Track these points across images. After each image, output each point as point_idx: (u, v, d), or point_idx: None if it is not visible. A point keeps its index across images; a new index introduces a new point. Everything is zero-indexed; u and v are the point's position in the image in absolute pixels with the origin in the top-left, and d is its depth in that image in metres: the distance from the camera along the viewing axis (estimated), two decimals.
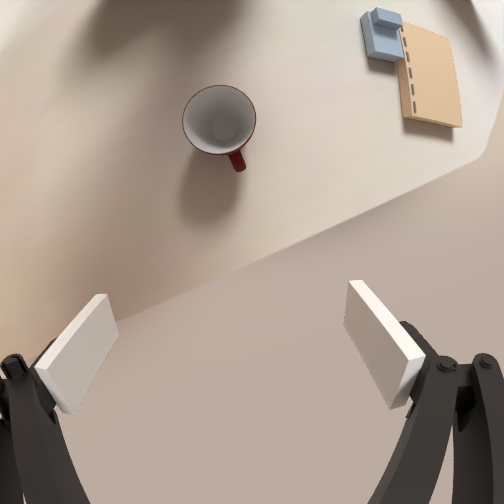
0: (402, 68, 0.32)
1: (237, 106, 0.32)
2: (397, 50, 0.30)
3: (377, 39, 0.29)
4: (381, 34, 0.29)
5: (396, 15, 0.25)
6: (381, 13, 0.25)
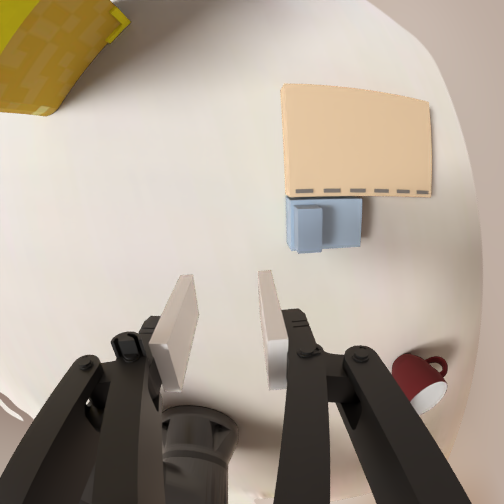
0: None
1: None
2: (352, 209, 0.28)
3: (341, 240, 0.29)
4: (331, 233, 0.29)
5: (303, 218, 0.26)
6: (309, 246, 0.27)
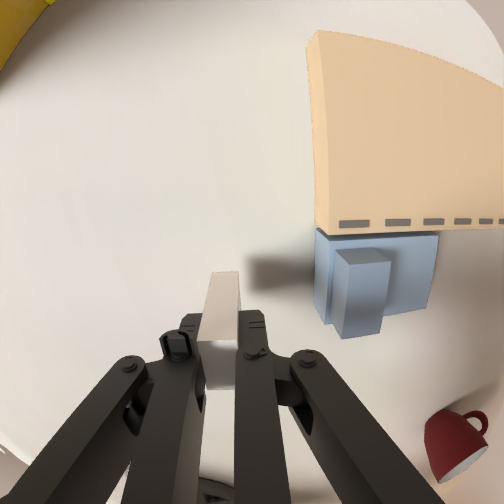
0: None
1: None
2: (424, 252, 0.15)
3: (402, 302, 0.17)
4: (390, 293, 0.16)
5: (358, 280, 0.13)
6: (361, 326, 0.14)
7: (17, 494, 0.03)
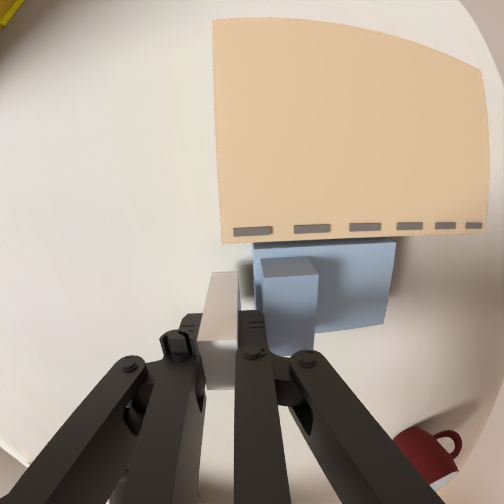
0: None
1: None
2: (377, 262, 0.14)
3: (351, 318, 0.16)
4: (334, 307, 0.15)
5: (277, 295, 0.12)
6: (287, 345, 0.13)
7: (17, 494, 0.03)
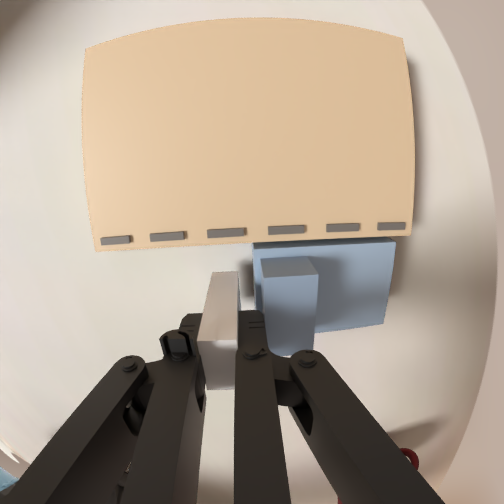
0: None
1: None
2: (377, 261, 0.14)
3: (351, 317, 0.16)
4: (334, 306, 0.15)
5: (277, 295, 0.12)
6: (287, 345, 0.13)
7: (17, 494, 0.03)
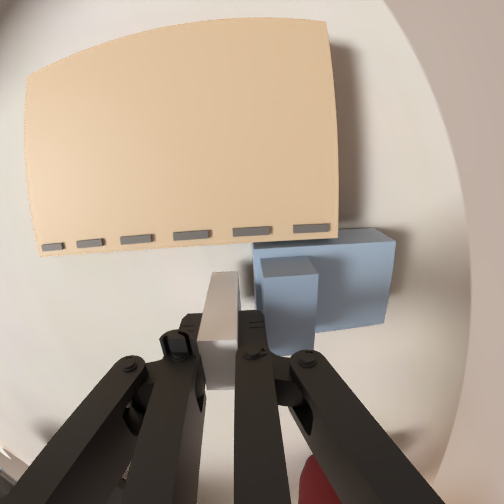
0: None
1: None
2: (377, 261, 0.14)
3: (352, 317, 0.16)
4: (334, 306, 0.15)
5: (277, 295, 0.12)
6: (288, 345, 0.13)
7: (17, 494, 0.03)
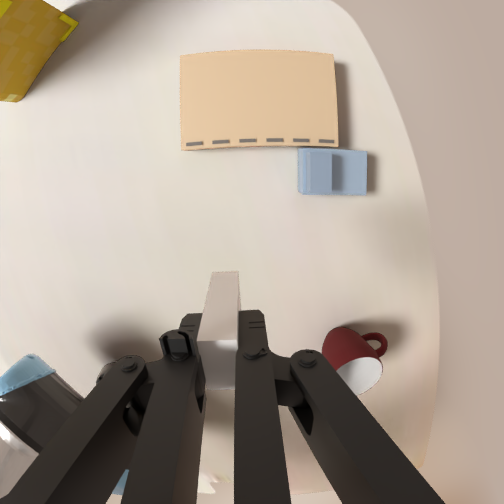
0: None
1: None
2: (358, 159, 0.30)
3: (348, 188, 0.31)
4: (339, 180, 0.31)
5: (315, 160, 0.28)
6: (320, 186, 0.29)
7: (17, 494, 0.03)
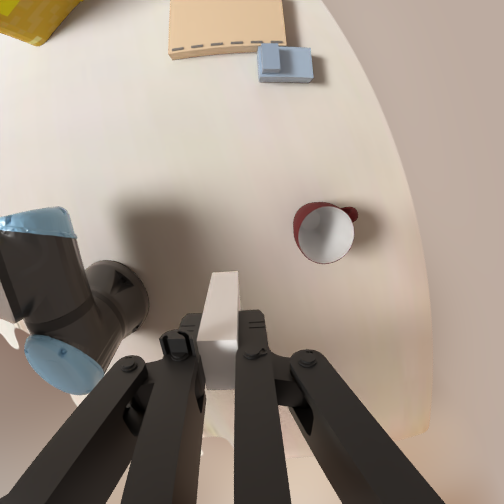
0: (230, 49, 0.34)
1: None
2: (303, 53, 0.33)
3: (297, 72, 0.34)
4: (289, 67, 0.34)
5: (265, 48, 0.31)
6: (270, 64, 0.32)
7: (17, 494, 0.03)
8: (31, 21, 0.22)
